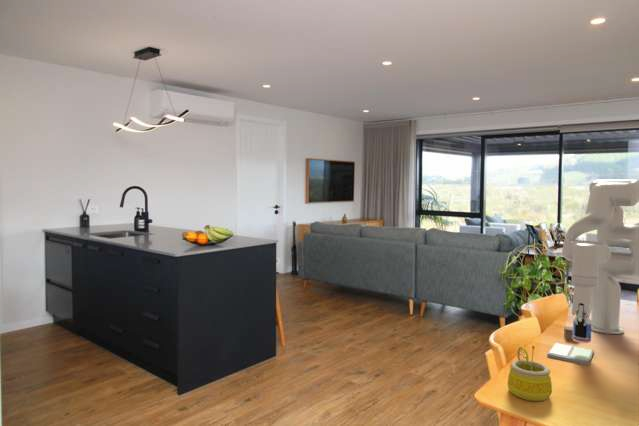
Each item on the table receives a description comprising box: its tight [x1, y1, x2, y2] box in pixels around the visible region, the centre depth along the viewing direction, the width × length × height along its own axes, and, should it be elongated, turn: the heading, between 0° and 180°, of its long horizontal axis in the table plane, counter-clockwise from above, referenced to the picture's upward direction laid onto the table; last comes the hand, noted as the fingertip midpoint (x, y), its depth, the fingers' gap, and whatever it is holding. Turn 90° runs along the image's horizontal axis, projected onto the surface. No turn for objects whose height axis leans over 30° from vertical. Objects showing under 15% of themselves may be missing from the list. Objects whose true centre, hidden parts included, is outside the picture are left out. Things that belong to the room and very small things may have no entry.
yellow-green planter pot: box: [507, 345, 553, 402], centre depth 125 cm, size 13×11×12 cm
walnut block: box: [563, 325, 575, 342], centre depth 172 cm, size 4×4×4 cm
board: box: [546, 342, 595, 366], centre depth 155 cm, size 14×12×1 cm
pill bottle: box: [572, 313, 592, 344], centre depth 152 cm, size 6×5×10 cm
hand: (581, 334), depth 152 cm, fingers closed on pill bottle, 5 cm apart
